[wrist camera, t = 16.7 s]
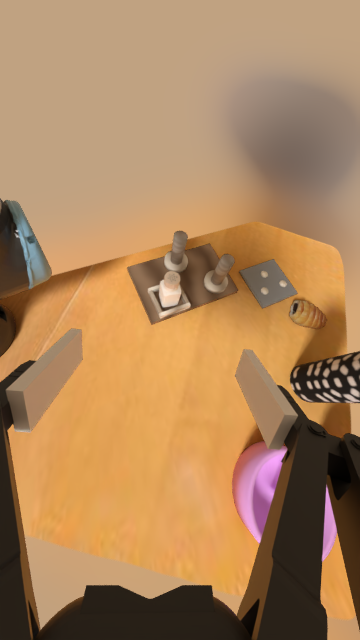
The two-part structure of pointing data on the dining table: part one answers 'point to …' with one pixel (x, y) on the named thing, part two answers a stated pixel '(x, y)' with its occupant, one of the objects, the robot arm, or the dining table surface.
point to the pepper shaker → (170, 289)
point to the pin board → (183, 278)
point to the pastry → (307, 315)
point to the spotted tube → (328, 380)
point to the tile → (268, 283)
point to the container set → (267, 491)
